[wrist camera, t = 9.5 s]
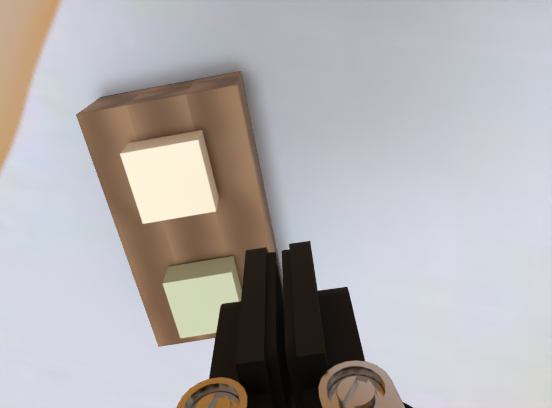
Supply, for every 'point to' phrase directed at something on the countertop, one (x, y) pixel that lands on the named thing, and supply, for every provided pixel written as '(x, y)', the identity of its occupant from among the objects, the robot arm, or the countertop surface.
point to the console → (226, 170)
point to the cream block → (171, 176)
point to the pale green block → (201, 293)
